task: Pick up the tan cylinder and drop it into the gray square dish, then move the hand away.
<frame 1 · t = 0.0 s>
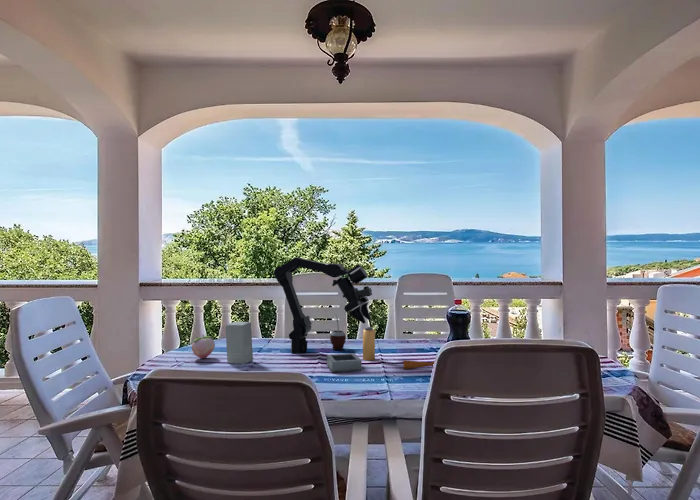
hand: (367, 321, 176), 15 cm above the table, tool tilted 35°, fingers open, 9 cm apart
decorative fruit: (202, 359, 172), on the table
kendama: (430, 371, 156), on the table
mate gourd: (337, 349, 190), on the table
tan cylinder: (368, 359, 172), on the table
skincare box: (239, 362, 167), on the table
gray square dish: (343, 368, 158), on the table
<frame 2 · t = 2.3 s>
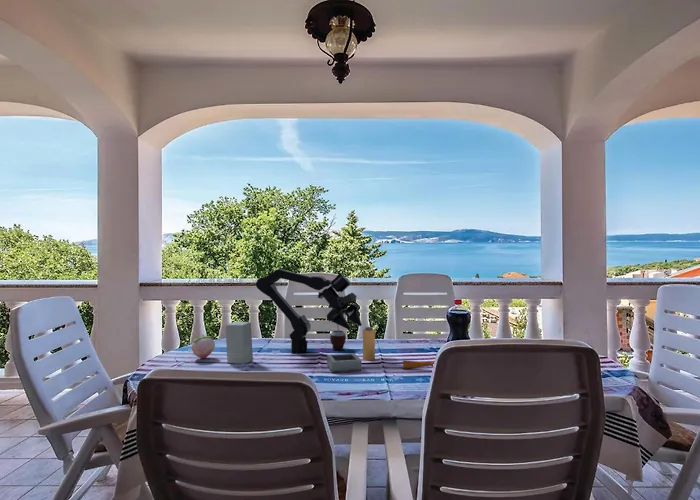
hand: (355, 327, 176), 12 cm above the table, tool tilted 45°, fingers open, 9 cm apart
nothing on the table moved.
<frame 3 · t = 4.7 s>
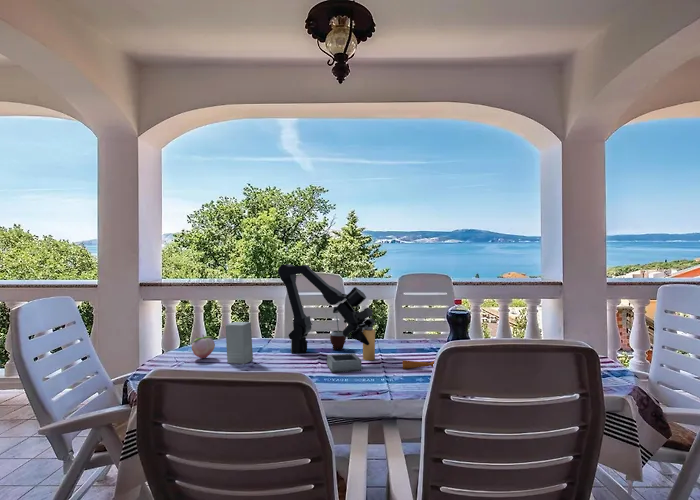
hand: (371, 343, 171), 7 cm above the table, tool tilted 45°, fingers closed on tan cylinder, 5 cm apart
tan cylinder: (368, 359, 172), on the table, touching gripper
everything else where it was.
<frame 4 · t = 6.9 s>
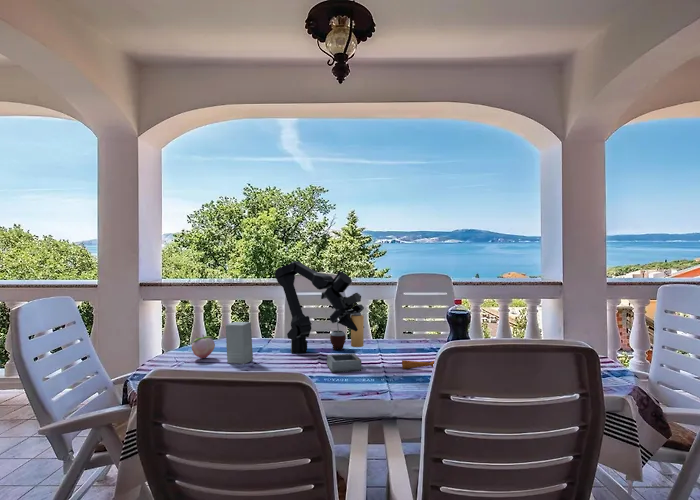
hand: (360, 329, 165), 13 cm above the table, tool tilted 45°, fingers closed on tan cylinder, 5 cm apart
tan cylinder: (357, 345, 165), point 7 cm above the table, touching gripper
everything else where it was.
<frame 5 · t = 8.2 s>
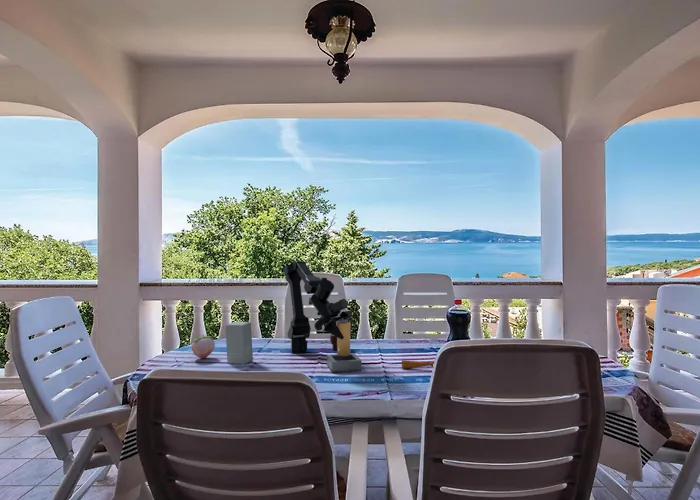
hand: (346, 337, 158), 12 cm above the table, tool tilted 45°, fingers closed on tan cylinder, 5 cm apart
tan cylinder: (343, 354, 158), point 5 cm above the table, touching gripper
everything else where it was.
when the fingers open (9 cm above the table, at t = 9.2 s): tan cylinder drops 1 cm, resting on gray square dish.
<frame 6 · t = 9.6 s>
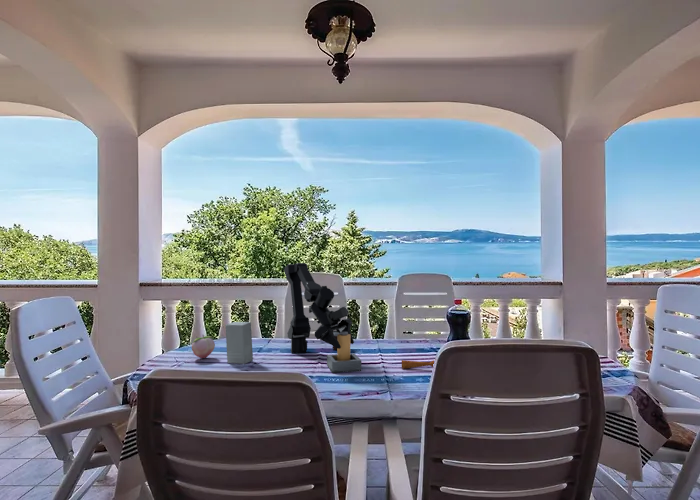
hand: (346, 345, 158), 9 cm above the table, tool tilted 45°, fingers open, 9 cm apart
tan cylinder: (343, 366, 158), point 1 cm above the table, touching gray square dish
everything else where it was.
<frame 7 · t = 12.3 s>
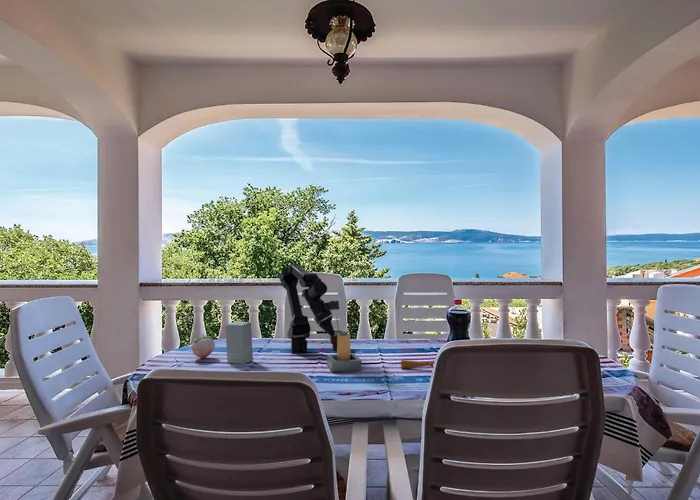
hand: (333, 335, 168), 10 cm above the table, tool tilted 30°, fingers open, 9 cm apart
nothing on the table moved.
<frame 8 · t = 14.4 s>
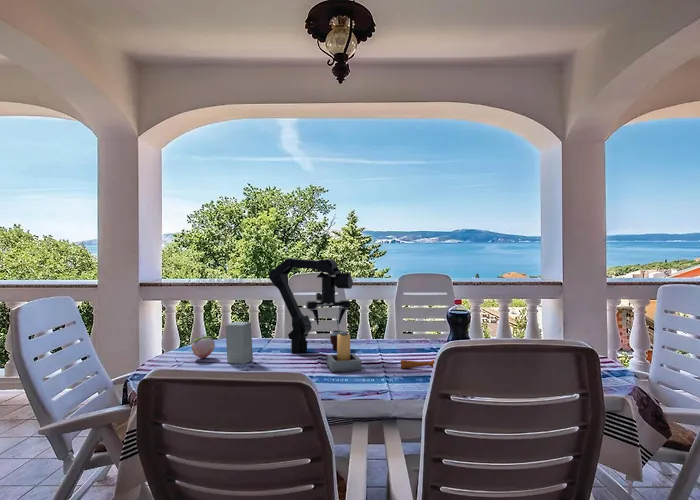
hand: (328, 324, 179), 13 cm above the table, tool pointing down, fingers open, 9 cm apart
nothing on the table moved.
at the end: tan cylinder 0.0 cm off-centre on the gray square dish, point 0.6 cm above the gray square dish's base; tan cylinder tilted 0°; the gripper is holding nothing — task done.
